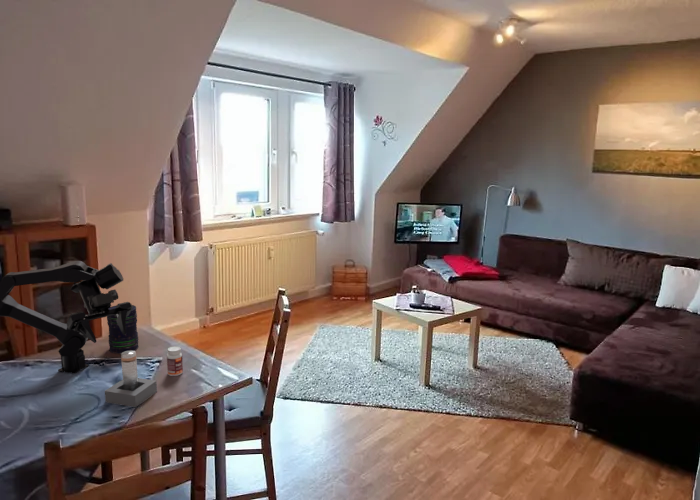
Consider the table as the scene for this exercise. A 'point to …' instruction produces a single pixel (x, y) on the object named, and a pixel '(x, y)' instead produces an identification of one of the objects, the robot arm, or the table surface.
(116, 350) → the storage jar
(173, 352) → the pill bottle
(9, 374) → the table surface
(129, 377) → the frosted bottle
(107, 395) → the socket block
